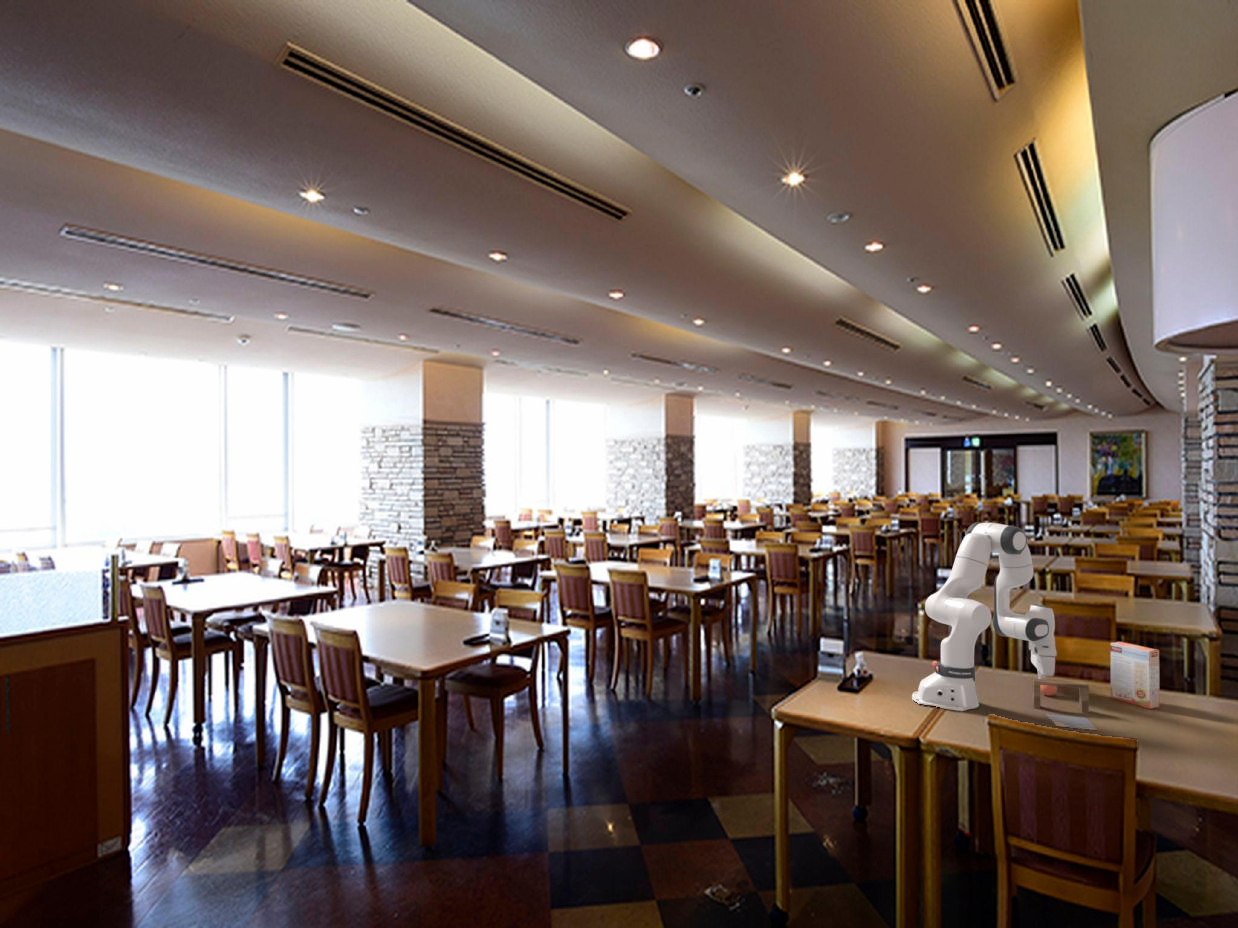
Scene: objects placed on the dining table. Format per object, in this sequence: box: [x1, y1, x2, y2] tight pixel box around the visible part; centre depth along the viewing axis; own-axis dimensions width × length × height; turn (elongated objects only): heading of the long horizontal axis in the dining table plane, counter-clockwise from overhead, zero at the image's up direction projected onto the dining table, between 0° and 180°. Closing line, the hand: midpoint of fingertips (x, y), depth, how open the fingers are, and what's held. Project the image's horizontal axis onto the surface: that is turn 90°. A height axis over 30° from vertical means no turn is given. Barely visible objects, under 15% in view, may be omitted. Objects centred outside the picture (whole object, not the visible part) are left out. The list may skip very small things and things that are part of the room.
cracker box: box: [1110, 641, 1160, 710], centre depth 262 cm, size 14×6×21 cm, turn 22°
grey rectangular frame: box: [1031, 678, 1090, 714], centre depth 256 cm, size 3×17×10 cm, turn 72°
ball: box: [1040, 678, 1058, 697], centre depth 271 cm, size 6×6×6 cm
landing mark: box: [1046, 713, 1098, 731], centre depth 242 cm, size 12×12×1 cm
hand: (1042, 681), depth 280 cm, fingers closed
